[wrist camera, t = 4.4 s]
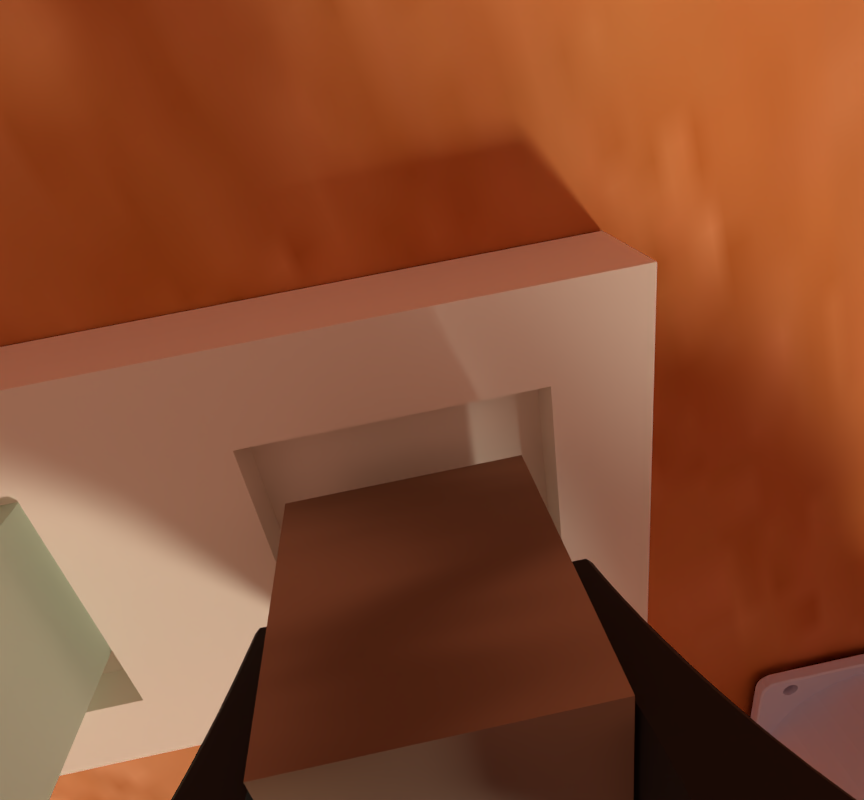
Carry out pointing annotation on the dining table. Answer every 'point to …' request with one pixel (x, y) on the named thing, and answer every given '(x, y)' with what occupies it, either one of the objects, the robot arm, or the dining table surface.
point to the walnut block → (436, 651)
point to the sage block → (40, 661)
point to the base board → (316, 447)
